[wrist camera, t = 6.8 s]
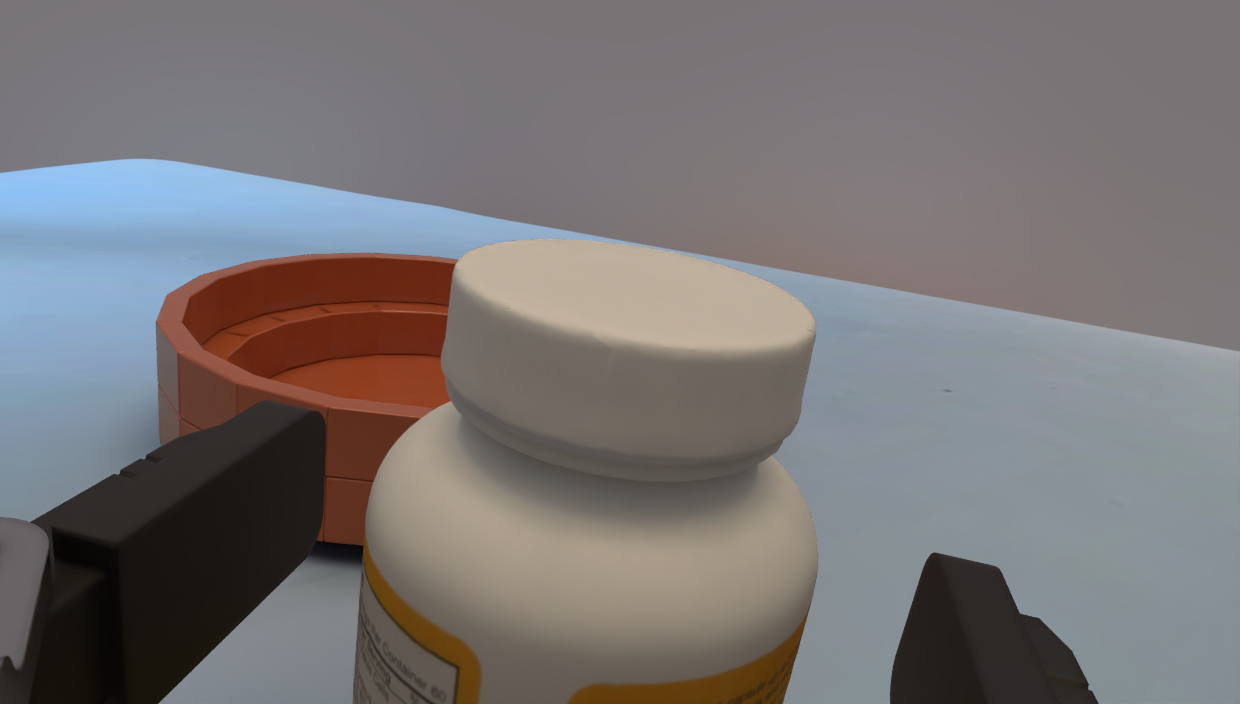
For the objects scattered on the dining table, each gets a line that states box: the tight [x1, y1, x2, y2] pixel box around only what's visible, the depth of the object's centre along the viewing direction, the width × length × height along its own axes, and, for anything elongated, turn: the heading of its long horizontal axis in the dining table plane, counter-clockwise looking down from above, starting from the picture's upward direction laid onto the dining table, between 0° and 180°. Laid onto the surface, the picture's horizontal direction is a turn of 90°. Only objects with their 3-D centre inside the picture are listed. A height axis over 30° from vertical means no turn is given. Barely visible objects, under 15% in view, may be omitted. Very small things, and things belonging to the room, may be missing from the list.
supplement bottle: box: [353, 239, 818, 704], centre depth 11 cm, size 5×5×10 cm
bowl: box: [156, 253, 458, 546], centre depth 25 cm, size 14×14×4 cm
